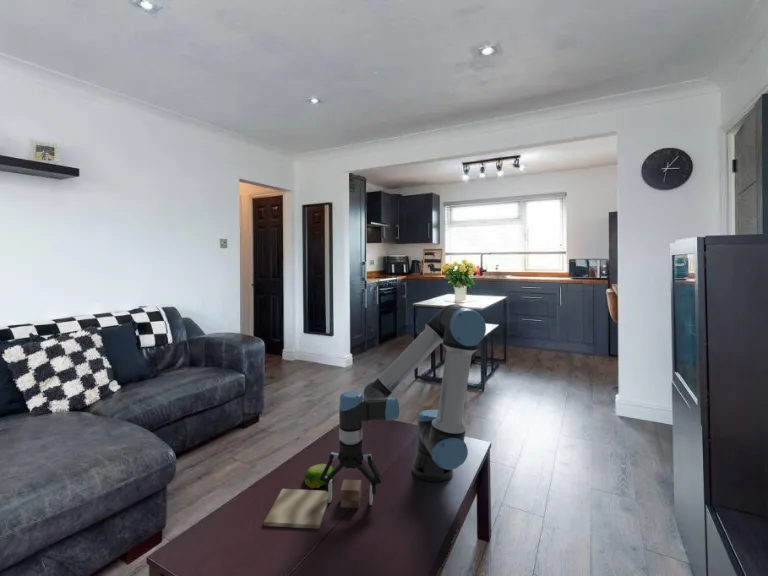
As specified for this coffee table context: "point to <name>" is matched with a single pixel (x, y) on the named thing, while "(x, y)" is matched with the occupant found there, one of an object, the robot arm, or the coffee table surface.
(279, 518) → the oak board
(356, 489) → the walnut cube
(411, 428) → the coffee table surface
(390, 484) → the coffee table surface
